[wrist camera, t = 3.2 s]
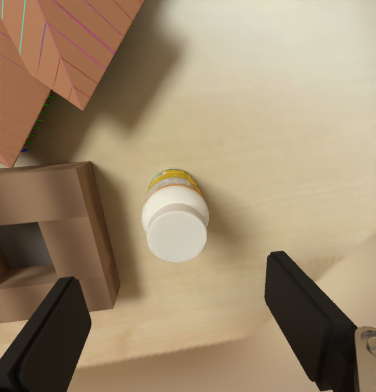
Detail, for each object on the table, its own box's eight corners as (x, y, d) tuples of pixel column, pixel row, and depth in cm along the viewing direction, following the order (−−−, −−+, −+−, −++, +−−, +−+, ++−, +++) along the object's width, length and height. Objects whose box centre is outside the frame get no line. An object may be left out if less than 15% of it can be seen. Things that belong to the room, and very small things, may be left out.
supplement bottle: (149, 165, 21) (134, 198, 12) (199, 168, 21) (222, 201, 12) (149, 212, 23) (136, 271, 14) (195, 214, 23) (213, 271, 14)
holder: (90, 161, 20) (75, 168, 17) (120, 284, 26) (113, 308, 22) (-81, 175, 19) (-133, 186, 16) (-12, 301, 25) (-39, 328, 21)
